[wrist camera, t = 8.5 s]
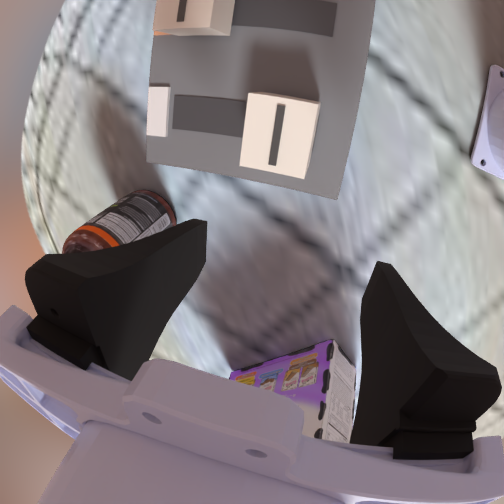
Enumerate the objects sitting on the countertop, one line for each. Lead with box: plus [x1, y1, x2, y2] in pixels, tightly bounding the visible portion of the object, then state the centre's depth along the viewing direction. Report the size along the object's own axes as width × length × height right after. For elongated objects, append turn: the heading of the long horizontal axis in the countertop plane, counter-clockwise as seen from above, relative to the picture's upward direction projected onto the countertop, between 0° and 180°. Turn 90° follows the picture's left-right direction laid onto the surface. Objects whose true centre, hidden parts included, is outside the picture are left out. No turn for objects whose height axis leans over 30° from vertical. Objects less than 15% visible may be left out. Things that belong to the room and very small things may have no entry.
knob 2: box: [239, 92, 321, 179], centre depth 16 cm, size 4×4×3 cm
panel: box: [146, 0, 375, 200], centre depth 14 cm, size 14×23×2 cm, turn 173°
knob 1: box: [153, 0, 235, 36], centre depth 13 cm, size 4×4×3 cm
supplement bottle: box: [62, 190, 176, 254], centre depth 21 cm, size 6×6×11 cm
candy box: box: [229, 340, 356, 443], centre depth 25 cm, size 14×6×16 cm, turn 129°
